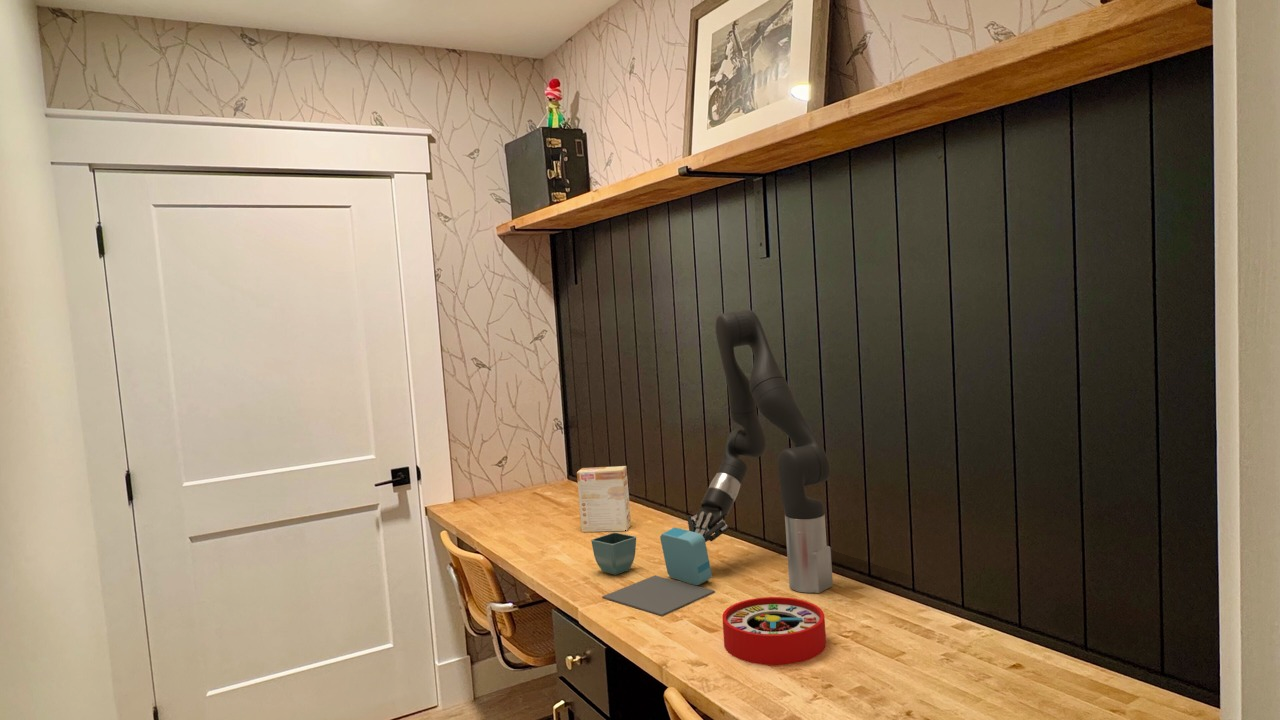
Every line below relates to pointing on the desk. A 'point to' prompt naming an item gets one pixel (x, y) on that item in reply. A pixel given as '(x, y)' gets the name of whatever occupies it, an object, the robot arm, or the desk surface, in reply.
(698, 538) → the data package
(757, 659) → the toy clock
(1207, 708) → the desk surface
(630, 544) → the flower pot
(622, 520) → the coffeecake box
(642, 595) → the mat
